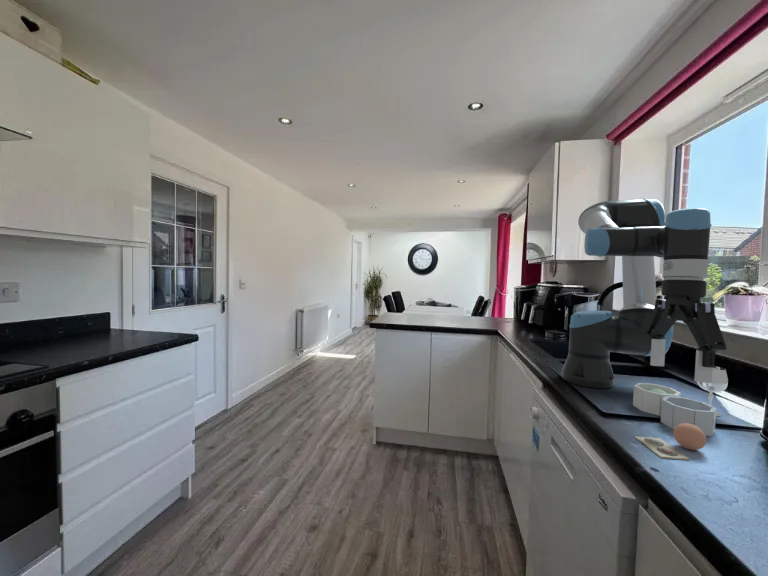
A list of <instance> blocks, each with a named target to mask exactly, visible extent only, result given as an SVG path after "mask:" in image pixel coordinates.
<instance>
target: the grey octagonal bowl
mask: <svg viewBox="0 0 768 576" xmlns="http://www.w3.org/2000/svg"><path fill="white" fill-rule="evenodd" d="M716 412H717V407H714V406H712V404H711V405H709V403H706V402H704V401H699V400H697V399H692V398H688V397H684V396H683V397H682V396H680V397H672V396H666V397H664V398H663V399H662V409H661V416H660V423H661V424H663V425H665V426H667V428H668V427H669V428H670V429H672V430H674V429H675V427H676V426H677V425H679V424H682V423H689V424H693V425H695V426H697V427H698V428H700V429H701V430H702V431H703V432H704V434H705V436H706V437H713V436H714V434H715V431H716V421H717V420H716V418H717V417H716Z"/></svg>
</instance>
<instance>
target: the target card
mask: <svg viewBox="0 0 768 576" xmlns="http://www.w3.org/2000/svg"><path fill="white" fill-rule="evenodd" d="M634 439H636V440H637V441H638V442H639V443H641V444H642V445H643V446H645V447H646V448H647V449H649V450H650V451H651V452H653V453H654V454H655V455H656V456H657V457H659V458H660V459H669V460H670V459H672V460H682V461H689V460H690V458H689V457H688V456H686V455H685V454H683V453H682V452H680V451H679V450H677V449H676V448H675V447H673V446H671V444H669V443H668V442H666V441H665V440H663V439H662V438H661V437H649V436H636V435H635V436H634Z"/></svg>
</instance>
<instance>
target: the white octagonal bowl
mask: <svg viewBox="0 0 768 576" xmlns="http://www.w3.org/2000/svg"><path fill="white" fill-rule="evenodd" d="M652 389H660V390H662V391H664V392H666V393H667V394H660V393H656V392H652V391H650V390H652ZM666 396H672V397H681V392H680V391H678V390H677V389H674V388H672V387H669V386H665V385H661V384H656V383H649V382H648V383H647V382H637V383H636V384H634V385H633V398H632V406H634V408H636V409H638V410H639V411H641V412H644V413H647V414H650V415H655V416H659V417H661V409H662V399H663V398H664V397H666Z"/></svg>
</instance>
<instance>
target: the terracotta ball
mask: <svg viewBox="0 0 768 576" xmlns="http://www.w3.org/2000/svg"><path fill="white" fill-rule="evenodd" d="M673 438H674V439H675V441H676V442H677V443H678V445H680V446H681V447H682V448H685V449H688V450H691V451H698V450H700V449H702V448H704V447H705V445H706V443H707V436H705V434H704V432H703V431H702V430H701V429H700V428H698V427H697V426H695V425H693V424H689V423H682V424H679V425H677V426H676V427H675V429H673Z"/></svg>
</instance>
